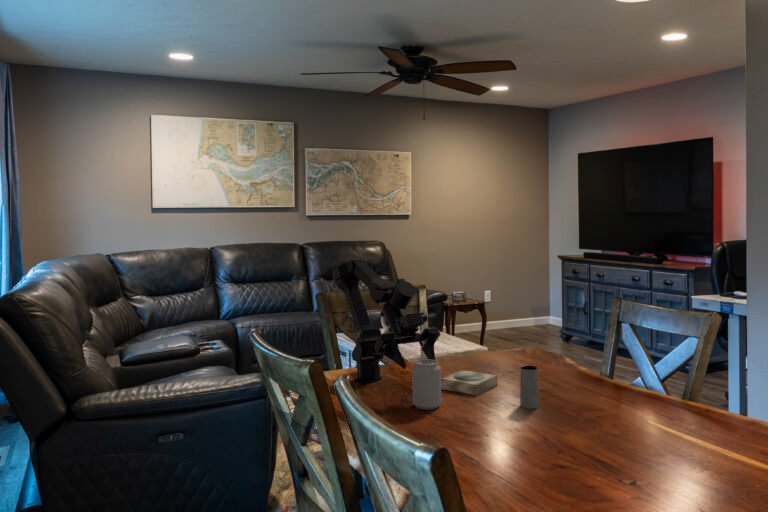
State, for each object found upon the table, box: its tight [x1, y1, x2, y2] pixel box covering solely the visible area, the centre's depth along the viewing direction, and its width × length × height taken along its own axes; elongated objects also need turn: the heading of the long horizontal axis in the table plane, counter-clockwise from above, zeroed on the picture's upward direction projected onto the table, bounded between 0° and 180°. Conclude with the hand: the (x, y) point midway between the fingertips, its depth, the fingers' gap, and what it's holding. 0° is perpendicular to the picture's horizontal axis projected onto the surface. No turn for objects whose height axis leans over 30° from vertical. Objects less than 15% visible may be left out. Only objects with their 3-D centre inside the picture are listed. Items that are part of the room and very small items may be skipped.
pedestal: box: [441, 369, 498, 396], centre depth 179 cm, size 12×12×3 cm
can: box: [411, 358, 442, 411], centre depth 161 cm, size 8×8×12 cm
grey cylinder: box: [519, 365, 539, 410], centre depth 160 cm, size 4×4×10 cm
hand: (419, 365), depth 164 cm, fingers open, 9 cm apart
